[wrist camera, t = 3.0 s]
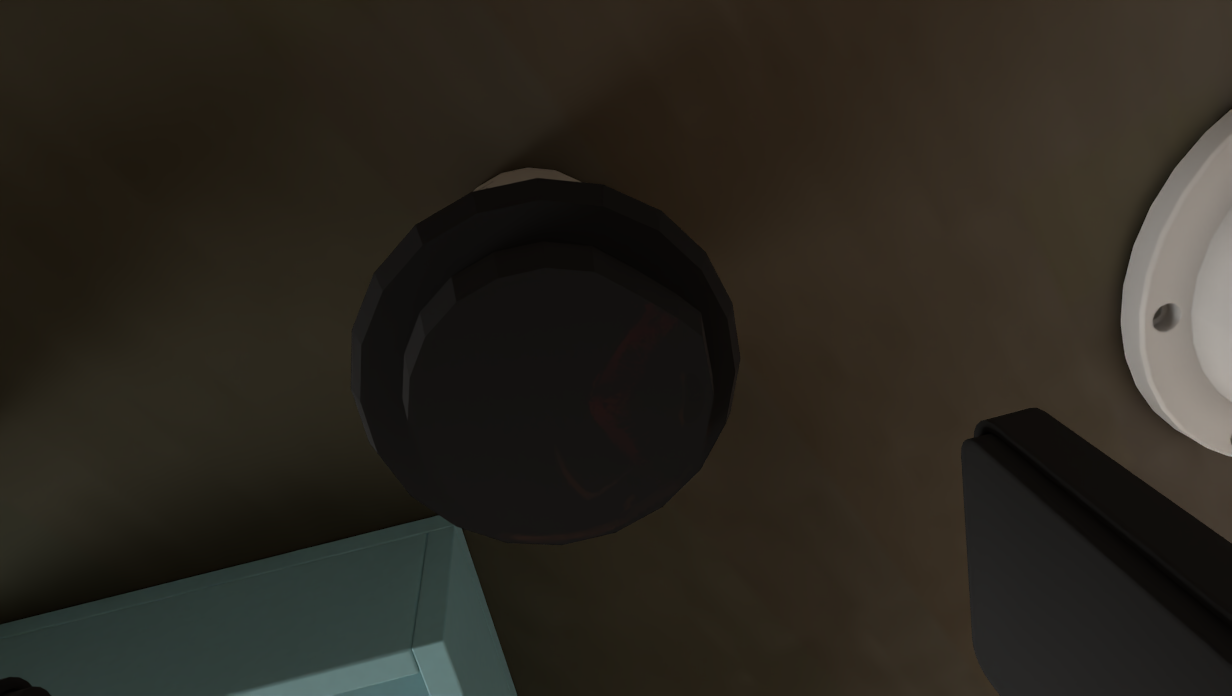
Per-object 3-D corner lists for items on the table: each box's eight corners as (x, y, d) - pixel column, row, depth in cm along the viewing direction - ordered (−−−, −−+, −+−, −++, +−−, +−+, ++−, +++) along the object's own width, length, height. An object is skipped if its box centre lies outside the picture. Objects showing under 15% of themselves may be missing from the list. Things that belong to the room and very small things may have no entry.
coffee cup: (418, 379, 24) (365, 607, 15) (386, 126, 21) (297, 209, 12) (662, 361, 25) (757, 566, 15) (659, 114, 22) (771, 182, 13)
